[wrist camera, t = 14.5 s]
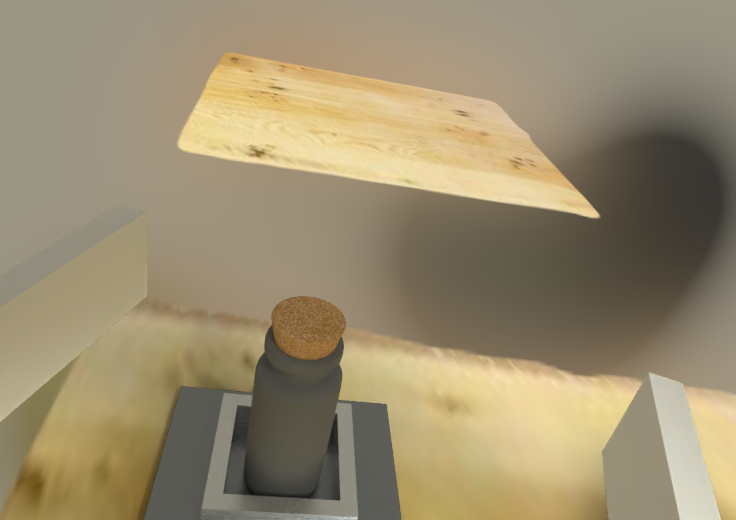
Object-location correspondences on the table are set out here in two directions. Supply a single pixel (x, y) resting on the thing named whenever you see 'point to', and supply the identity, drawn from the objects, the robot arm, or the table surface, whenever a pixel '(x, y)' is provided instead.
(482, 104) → the table surface
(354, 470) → the collar plate
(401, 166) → the table surface
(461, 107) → the table surface
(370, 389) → the table surface
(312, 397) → the bottle
